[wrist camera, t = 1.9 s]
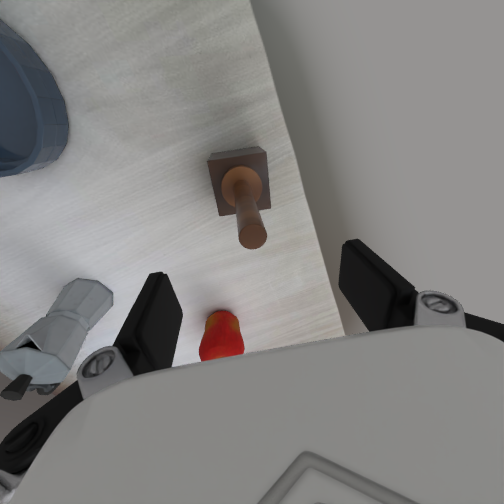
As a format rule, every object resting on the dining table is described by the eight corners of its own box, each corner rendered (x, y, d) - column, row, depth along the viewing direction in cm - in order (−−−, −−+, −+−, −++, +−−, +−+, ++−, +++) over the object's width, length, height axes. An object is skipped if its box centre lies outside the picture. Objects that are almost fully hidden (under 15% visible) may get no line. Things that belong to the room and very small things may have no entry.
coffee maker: (58, 265, 38) (-56, 363, 22) (114, 273, 40) (43, 369, 24) (69, 323, 45) (-13, 428, 30) (115, 327, 47) (61, 428, 31)
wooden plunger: (217, 168, 26) (209, 209, 14) (258, 162, 26) (286, 196, 14) (225, 208, 28) (224, 271, 16) (263, 202, 28) (289, 260, 16)
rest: (210, 153, 31) (207, 160, 25) (258, 146, 31) (266, 151, 25) (220, 200, 35) (219, 216, 29) (263, 193, 35) (271, 208, 29)
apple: (203, 330, 50) (196, 383, 40) (203, 303, 46) (196, 355, 36) (239, 330, 51) (243, 381, 41) (243, 304, 47) (247, 354, 37)
